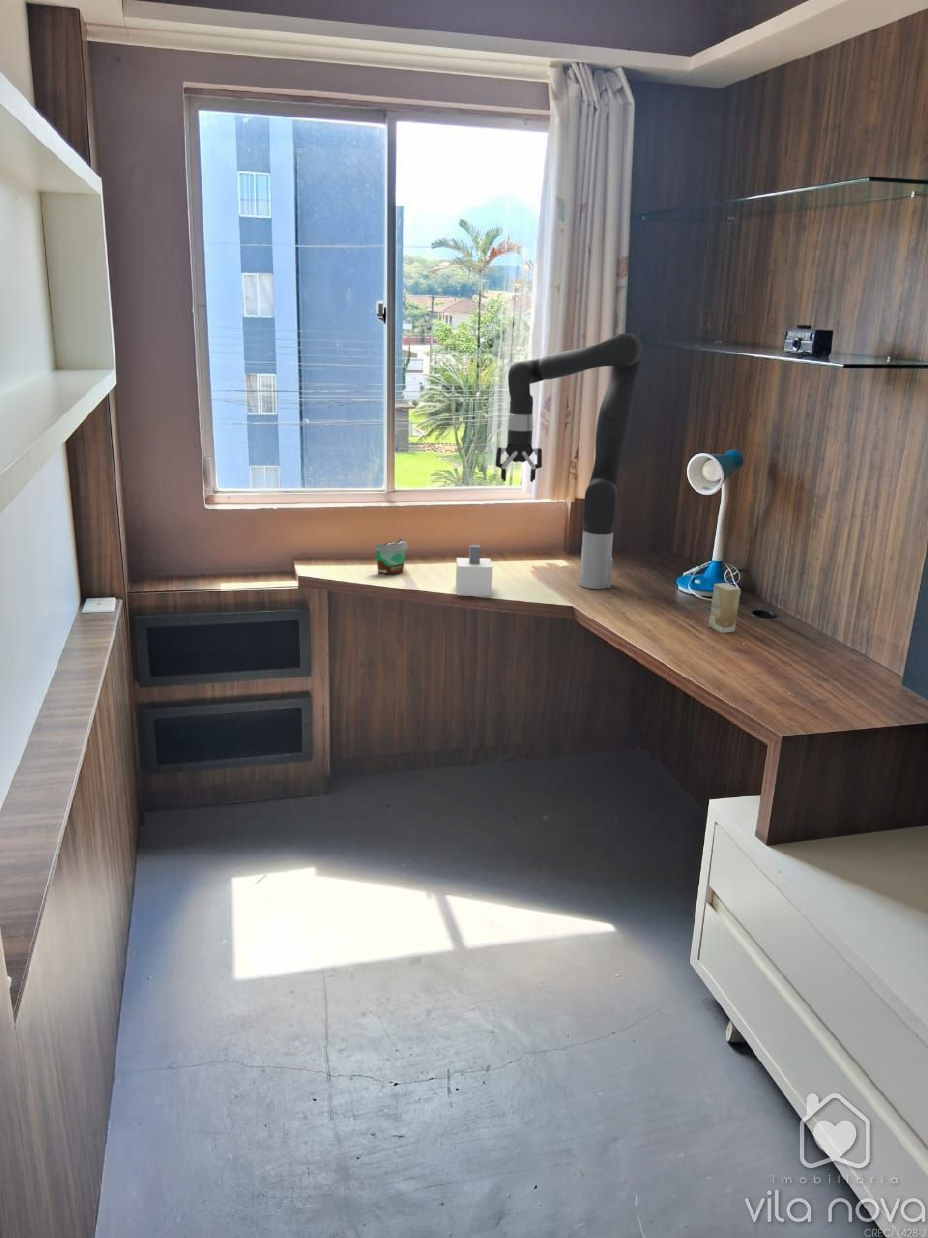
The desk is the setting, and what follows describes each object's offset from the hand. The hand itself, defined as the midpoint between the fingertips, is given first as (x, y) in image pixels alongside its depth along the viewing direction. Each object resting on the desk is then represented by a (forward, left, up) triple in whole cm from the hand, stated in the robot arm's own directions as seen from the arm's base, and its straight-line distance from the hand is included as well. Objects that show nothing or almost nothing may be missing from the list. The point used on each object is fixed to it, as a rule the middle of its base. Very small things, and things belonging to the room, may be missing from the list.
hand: (517, 481), depth 295 cm
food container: (+38, +2, -30) cm, 48 cm away
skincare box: (-52, +53, -30) cm, 80 cm away
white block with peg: (+14, +20, -30) cm, 39 cm away
